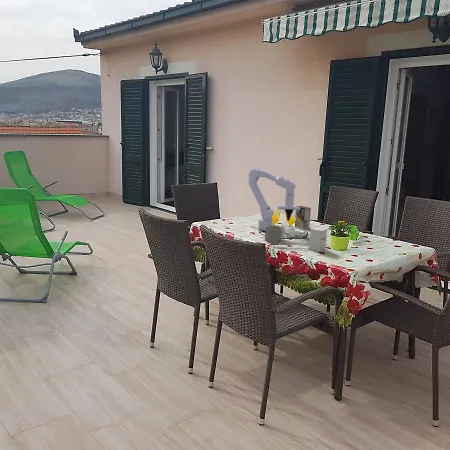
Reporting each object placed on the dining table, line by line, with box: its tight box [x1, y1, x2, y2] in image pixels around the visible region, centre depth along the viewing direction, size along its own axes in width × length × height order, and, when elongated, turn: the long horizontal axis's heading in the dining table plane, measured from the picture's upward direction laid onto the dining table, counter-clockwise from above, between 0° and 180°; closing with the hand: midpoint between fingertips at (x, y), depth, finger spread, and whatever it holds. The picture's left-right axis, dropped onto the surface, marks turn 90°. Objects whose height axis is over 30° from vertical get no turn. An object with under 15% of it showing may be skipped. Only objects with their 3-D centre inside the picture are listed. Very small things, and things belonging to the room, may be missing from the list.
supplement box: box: [308, 227, 328, 253], centre depth 273 cm, size 7×7×13 cm
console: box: [281, 230, 304, 240], centre depth 303 cm, size 15×20×2 cm
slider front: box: [290, 229, 296, 237], centre depth 296 cm, size 3×3×4 cm
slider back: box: [279, 224, 286, 232], centre depth 310 cm, size 3×3×4 cm
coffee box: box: [294, 205, 312, 230], centre depth 325 cm, size 9×6×16 cm
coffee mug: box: [264, 224, 282, 246], centre depth 286 cm, size 13×10×10 cm
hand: (288, 220), depth 308 cm, fingers closed
